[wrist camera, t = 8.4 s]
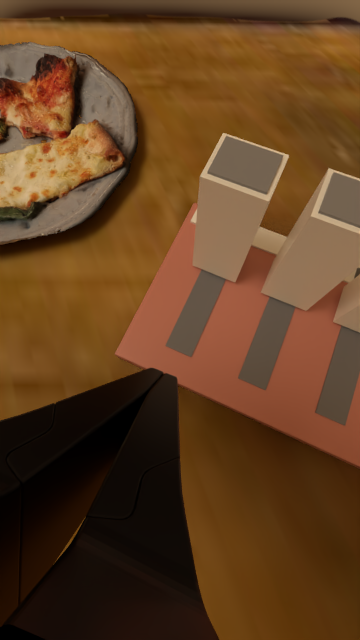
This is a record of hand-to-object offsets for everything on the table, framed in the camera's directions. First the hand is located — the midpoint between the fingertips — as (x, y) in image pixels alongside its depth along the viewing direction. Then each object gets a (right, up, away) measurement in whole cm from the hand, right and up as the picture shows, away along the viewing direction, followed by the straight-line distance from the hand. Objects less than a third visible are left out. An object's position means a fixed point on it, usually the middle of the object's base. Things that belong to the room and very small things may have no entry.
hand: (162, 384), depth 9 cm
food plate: (-16, +18, +20) cm, 31 cm away
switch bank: (+8, +1, +14) cm, 16 cm away
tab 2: (+9, +5, +14) cm, 17 cm away
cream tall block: (+4, +7, +14) cm, 16 cm away
